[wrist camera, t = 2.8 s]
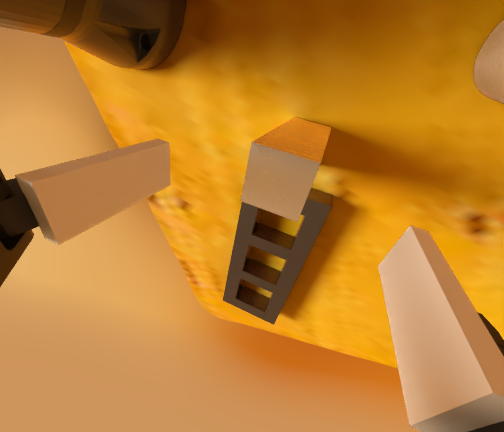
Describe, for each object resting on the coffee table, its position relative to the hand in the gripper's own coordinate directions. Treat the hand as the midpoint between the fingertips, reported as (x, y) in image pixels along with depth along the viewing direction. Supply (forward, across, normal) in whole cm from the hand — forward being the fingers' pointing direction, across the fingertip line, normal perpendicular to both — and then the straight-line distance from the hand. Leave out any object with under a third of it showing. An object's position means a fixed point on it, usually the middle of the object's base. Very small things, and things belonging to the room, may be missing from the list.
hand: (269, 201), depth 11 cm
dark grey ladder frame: (+15, 0, -17) cm, 23 cm away
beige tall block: (+15, 0, 0) cm, 15 cm away
